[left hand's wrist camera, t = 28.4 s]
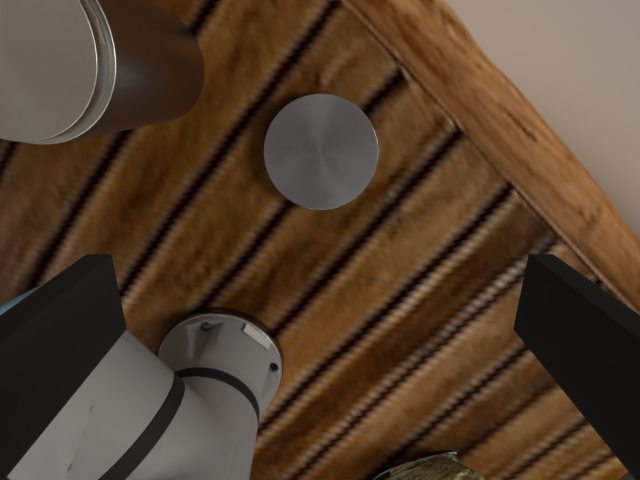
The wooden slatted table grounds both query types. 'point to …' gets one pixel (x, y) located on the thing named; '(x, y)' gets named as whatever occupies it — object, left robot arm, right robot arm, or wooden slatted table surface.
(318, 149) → the lid
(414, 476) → the fossil
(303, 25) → the wooden slatted table surface
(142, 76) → the jar
